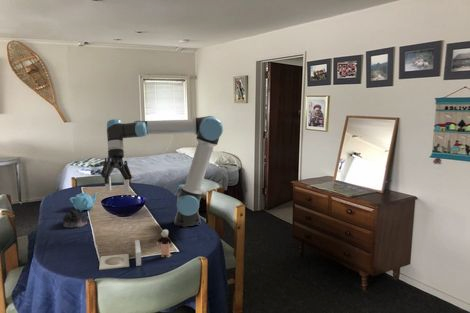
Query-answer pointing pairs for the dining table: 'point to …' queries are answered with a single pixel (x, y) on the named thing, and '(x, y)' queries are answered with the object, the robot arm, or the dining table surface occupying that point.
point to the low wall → (137, 252)
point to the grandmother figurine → (165, 244)
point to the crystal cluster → (74, 219)
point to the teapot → (83, 201)
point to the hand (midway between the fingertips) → (118, 191)
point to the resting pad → (114, 261)
